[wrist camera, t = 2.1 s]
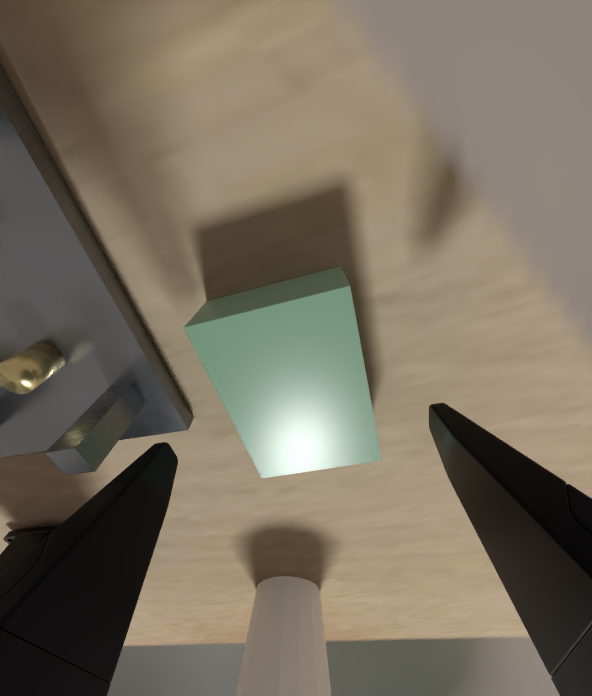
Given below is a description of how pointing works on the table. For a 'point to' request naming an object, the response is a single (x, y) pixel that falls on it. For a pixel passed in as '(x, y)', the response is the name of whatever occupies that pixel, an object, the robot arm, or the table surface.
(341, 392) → the green rectangular block
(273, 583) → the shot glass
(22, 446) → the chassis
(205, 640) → the table surface
